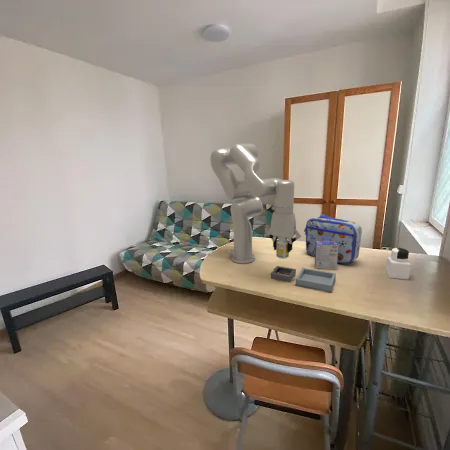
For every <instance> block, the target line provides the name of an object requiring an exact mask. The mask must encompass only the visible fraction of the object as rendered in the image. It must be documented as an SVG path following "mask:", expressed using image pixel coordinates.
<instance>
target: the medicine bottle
mask: <svg viewBox="0 0 450 450" xmlns="http://www.w3.org/2000/svg"><path fill="white" fill-rule="evenodd" d="M409 253H410V252H409V250H408V249H406V248H403V247H395V248H392V249H391V253H390V256H387V258H386V259H387V260H386V267H385V272H386V274H387V276H388V277H389V278H390V279H399V280H409V279H410V274H411V268H412V263H410V261H409Z"/></svg>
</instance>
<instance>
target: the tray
mask: <svg viewBox="0 0 450 450" xmlns="http://www.w3.org/2000/svg"><path fill="white" fill-rule="evenodd" d="M336 276H337V273H335V272H330V271H324V270H317V269H312V268H306V267H302V268H301V269H300V271H299V272H298V274H297V276H296V278H295V286H296V287H301V288H307V289H311V290H315V291H320V292H326V293H332V292H333V288H334V286H335V282H336Z"/></svg>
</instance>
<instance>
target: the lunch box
mask: <svg viewBox="0 0 450 450" xmlns="http://www.w3.org/2000/svg"><path fill="white" fill-rule="evenodd" d="M362 229H363V228H362V227H361V225H360V224H359V223H357V222H355V221H351V220H346V219H341V218H334V217H331V216H329V215H325V214H324V213H322V214H321V215H320V216H315V217H312V218H309V219H308V220H307V222H306V224H305V228H304V230H303V232H304V235H305V250H306V252H307V253H308V254H309V255H311V256H313V257H315V241H322V237H330V239H331V241H336V242H337V243H338V258H337V263H340V264H345V265H346V264H348V265H349V264H351V263H352V262H353V261H355V260H357V259H358V258H359V254H360V249H361V239H362V233H363V230H362ZM324 240H329V239H327V238H325V239H324Z"/></svg>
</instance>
